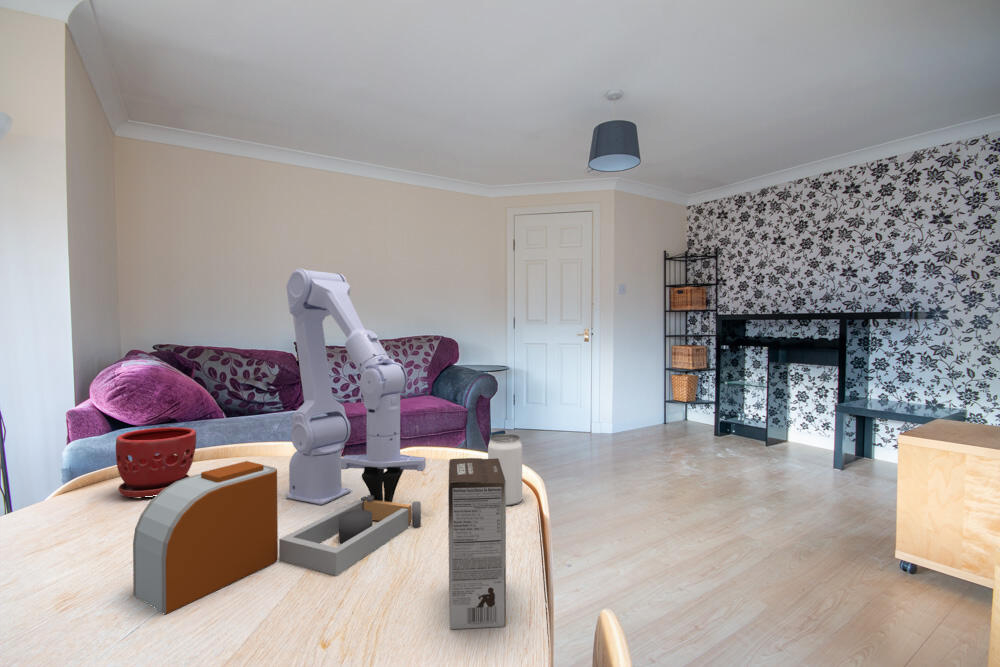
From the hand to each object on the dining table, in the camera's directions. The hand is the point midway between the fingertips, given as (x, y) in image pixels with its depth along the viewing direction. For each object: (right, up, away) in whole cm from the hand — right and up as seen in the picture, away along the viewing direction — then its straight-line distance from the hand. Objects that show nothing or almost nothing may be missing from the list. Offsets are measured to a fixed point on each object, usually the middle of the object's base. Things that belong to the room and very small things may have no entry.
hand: (383, 509), depth 81 cm
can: (+22, -1, +7) cm, 23 cm away
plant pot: (-49, -1, +13) cm, 51 cm away
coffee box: (+18, -1, -27) cm, 32 cm away
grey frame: (-2, -1, -10) cm, 10 cm away
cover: (+2, -1, -3) cm, 4 cm away
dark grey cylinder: (-2, -1, -9) cm, 9 cm away
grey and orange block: (-18, -1, -20) cm, 26 cm away
